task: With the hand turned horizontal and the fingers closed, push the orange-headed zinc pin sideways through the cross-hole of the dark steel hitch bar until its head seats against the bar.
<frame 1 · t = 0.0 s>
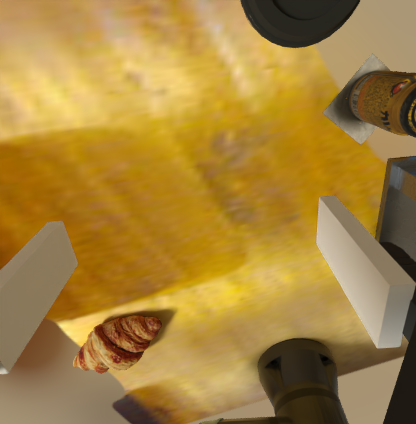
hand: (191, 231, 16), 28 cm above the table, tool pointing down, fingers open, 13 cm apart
condiment: (364, 101, 40), on the table
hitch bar: (402, 230, 48), on the table
croissant: (117, 333, 59), on the table
coffee cup: (270, 2, 35), on the table
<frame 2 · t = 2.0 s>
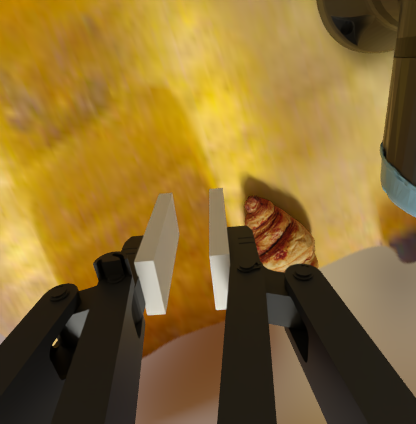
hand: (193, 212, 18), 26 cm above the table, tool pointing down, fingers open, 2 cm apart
croissant: (277, 241, 50), on the table
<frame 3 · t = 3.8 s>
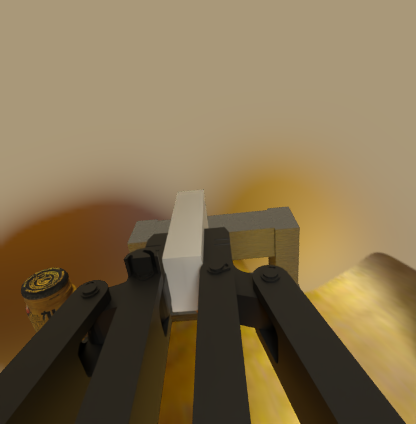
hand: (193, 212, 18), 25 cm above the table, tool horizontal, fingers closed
condiment: (76, 353, 41), on the table
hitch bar: (220, 298, 47), on the table
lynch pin: (214, 259, 38), point 11 cm above the table, slide at 0.0 cm
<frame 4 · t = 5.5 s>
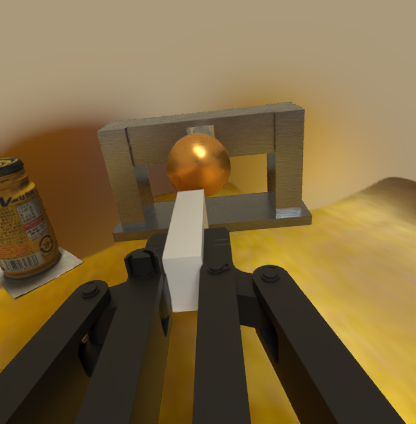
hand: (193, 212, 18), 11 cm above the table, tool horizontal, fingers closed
condiment: (36, 268, 35), on the table
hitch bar: (211, 217, 41), on the table
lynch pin: (200, 146, 31), point 11 cm above the table, slide at 0.0 cm
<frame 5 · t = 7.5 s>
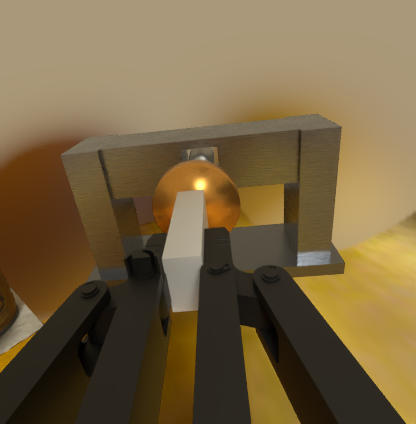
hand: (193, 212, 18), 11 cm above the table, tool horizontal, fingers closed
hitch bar: (213, 258, 32), on the table
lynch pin: (200, 169, 24), point 11 cm above the table, slide at 1.7 cm, touching gripper
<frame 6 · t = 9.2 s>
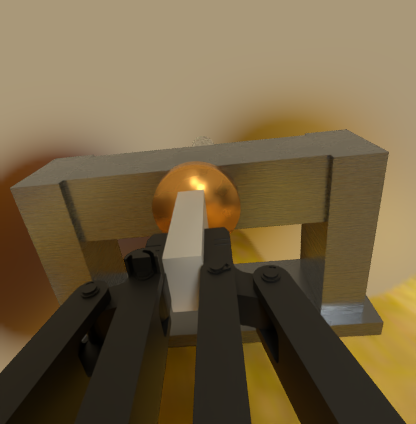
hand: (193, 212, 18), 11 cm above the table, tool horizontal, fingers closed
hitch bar: (213, 305, 26), on the table
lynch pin: (200, 170, 24), point 11 cm above the table, slide at 8.5 cm, touching gripper, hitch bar
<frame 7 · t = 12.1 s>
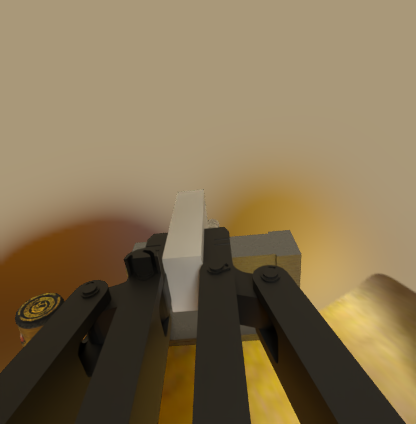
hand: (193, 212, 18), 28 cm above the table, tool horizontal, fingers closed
condiment: (71, 379, 40), on the table
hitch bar: (219, 320, 47), on the table
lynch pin: (213, 248, 45), point 11 cm above the table, slide at 8.5 cm, touching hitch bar
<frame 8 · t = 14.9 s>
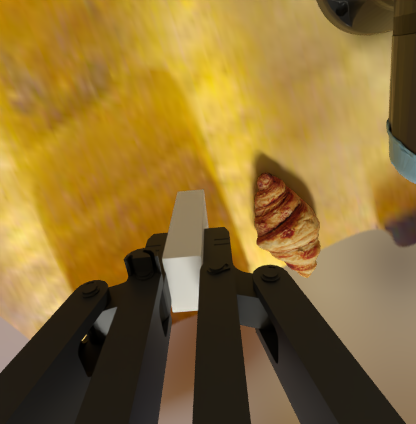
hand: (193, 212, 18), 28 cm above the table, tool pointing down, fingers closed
croissant: (283, 223, 51), on the table
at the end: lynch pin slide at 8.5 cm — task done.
